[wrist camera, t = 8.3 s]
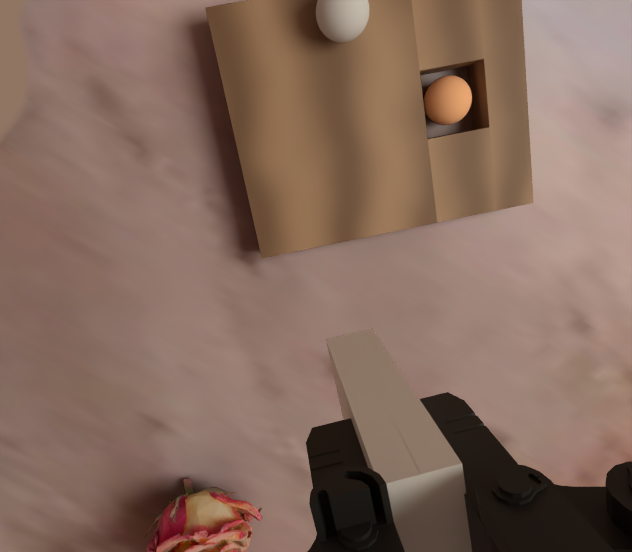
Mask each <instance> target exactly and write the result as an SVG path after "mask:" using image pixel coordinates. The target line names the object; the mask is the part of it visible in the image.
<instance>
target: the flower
mask: <svg viewBox="0 0 632 552" xmlns="http://www.w3.org/2000/svg"><path fill="white" fill-rule="evenodd" d="M183 483H184V489H185V494H183V495H180V496H179V497H177V498H176V499H174V500H173V501H169V502H170V504H169V505H168V506H167V507H166V508H165V509H164V511H163V512H162V513H161V514H160V515H159V516H158V517H157V518H156V520H155V521H154V523H153V524H152V526H153V525H154V524H155V523H156V522H157V521H158V523H157V527H156V529H155V531H154V534H153V536H152V538H151V540H150V541H149V543H148V546H147V549H146V552H245V551H246V550H247V548H248V547H249V545H250V540H251V536H252V535H253V534H252V529H253V527H252V528H251V527H250V526H249V525H248V524H247V523H246V522H245V521H248V522H252V518H253V517H254V518H256V519H257V520H259V521H261V519H262V516H261V514H259V513H260V511H261V509H262V508H261V507H260V509H259V510H257V509H256V508H255V507H254V506H253V505H252V504H250V503H249V502H246V501H238V500H231V499H230V498H229V497H228V496H226V495H224V494H223V493H226V494H234V493H227V492H225V491H224V490H222V489H219V488H216V487H211V488H205V489H203V490H201V491H200V492H198V493H195V491H194V489H193V486H192V483H191V480H190V478H187V479H183ZM236 493H237V492H236ZM240 516H241V517H242V518H240ZM158 519H159V520H158ZM152 526H151V527H152ZM151 527H150V529H151ZM150 529H149V530H150ZM149 530H148V532H149ZM148 532H147V533H148ZM147 533H146V535H147ZM146 535H145V536H146ZM145 536H144V537H145ZM142 538H143V537H142Z"/></svg>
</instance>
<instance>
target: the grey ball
mask: <svg viewBox="0 0 632 552" xmlns="http://www.w3.org/2000/svg"><path fill="white" fill-rule="evenodd" d="M368 19H369V2H368V0H318V1H317V5H316V20H317V23H318V26H319V28H320V30H321V31H322V33H323V34H324V35H325V36H326V37H327V38H329V39H330V40H332V41H335V42H342V43H343V42H348V41H351V40H353V39H355V38H357V37H358V36H359V35H360V34H361V33H362V32H363V30H364V29H365V27H366V25H367V22H368Z"/></svg>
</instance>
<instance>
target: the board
mask: <svg viewBox="0 0 632 552" xmlns="http://www.w3.org/2000/svg"><path fill="white" fill-rule="evenodd" d="M317 1H318V0H246V1H240V2H235V3H229V4H224V5H218V6H212V7H207V8H206V13H207V17H208V22H209V26H210V31H211V35H212V39H213V44H214V48H215V53H216V57H217V62H218V66H219V71H220V75H221V79H222V84H223V88H224V93H225V97H226V102H227V106H228V110H229V115H230V119H231V124H232V128H233V133H234V137H235V141H236V146H237V150H238V155H239V159H240V164H241V168H242V173H243V177H244V181H245V186H246V190H247V195H248V199H249V204H250V208H251V212H252V217H253V221H254V226H255V230H256V235H257V239H258V243H259V248H260V252H261V257H262V258H266V257H271V256H276V255H280V254H285V253H290V252H295V251H300V250H305V249H310V248H315V247H320V246H324V245H329V244H334V243H339V242H344V241H349V240H354V239H359V238H364V237H368V236H373V235H378V234H383V233H388V232H393V231H398V230H403V229H408V228H413V227H417V226H422V225H427V224H432V223H437V222H442V221H447V220H452V219H457V218H461V217H466V216H471V215H476V214H481V213H486V212H491V211H496V210H501V209H506V208H510V207H515V206H520V205H525V204H530V203H533V188H532V171H531V154H530V137H529V120H528V102H527V85H526V68H525V51H524V34H523V17H522V0H368V2H369V19H368V22H367V25H366V27H365V29H364V30H363V32H362V33H361V34H360V35H359V36H358V37H357V38H355V39H353V40H351V41H348V42H343V43H342V42H335V41H332V40H330V39H329V38H327V37H326V36H325V35H324V34H323V33H322V31H321V30H320V28H319V26H318V23H317V20H316V5H317ZM467 66H468V70H469V82H470V89H471V93H472V103H471V104H472V115H473V126H474V130H470V131H464V132H459V133H454V134H449V135H444V136H439V137H434V138H429V139H428V138H427V129H426V120H425V112H424V103H423V95H422V86H421V77H420V75H424V74H430V73H435V72H440V71H445V70H451V69H456V68H461V67H467Z"/></svg>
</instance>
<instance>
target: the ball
mask: <svg viewBox="0 0 632 552" xmlns="http://www.w3.org/2000/svg"><path fill="white" fill-rule="evenodd" d="M471 103H472V93H471V89H470V87H469V85H468V84H467V83H466V82H465V81H464V80H463V79H462V78H460V77H457V76H452V75H448V76H443V77H441V78H438V79H437V80H435V81H434V82H433V83H432V84H431V85H430V86H429V88H428V89H427V91H426V93H425V96H424V109H425V112H426V114H427V116H428V117H429V118H430V119H431V120H432V121H433V122H435V123H437V124H441V125H450V124H454V123H456V122H458V121H460V120H461V119H462V118H463V117H464V116H465V115H466V114H467V112H468V111H469V109H470V106H471Z"/></svg>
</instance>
